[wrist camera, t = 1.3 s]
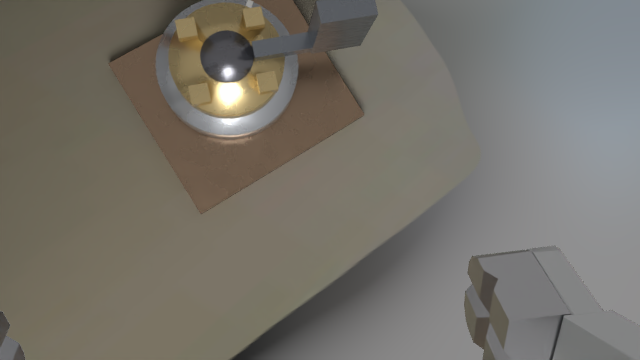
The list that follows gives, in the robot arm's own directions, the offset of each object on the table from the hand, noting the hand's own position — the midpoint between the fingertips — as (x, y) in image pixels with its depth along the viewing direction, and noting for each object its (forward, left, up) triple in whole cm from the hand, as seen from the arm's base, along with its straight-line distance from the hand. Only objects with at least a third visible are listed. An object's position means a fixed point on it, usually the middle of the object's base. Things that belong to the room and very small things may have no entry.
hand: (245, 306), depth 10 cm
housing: (+8, +15, -50) cm, 53 cm away
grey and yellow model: (+12, +16, -46) cm, 50 cm away
